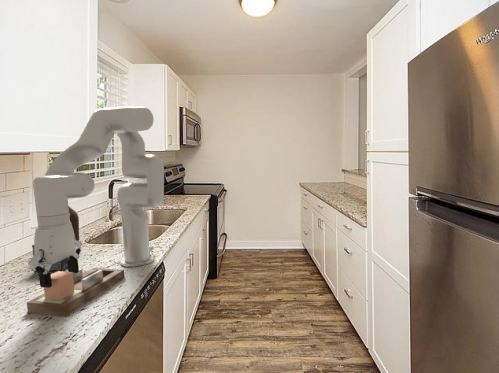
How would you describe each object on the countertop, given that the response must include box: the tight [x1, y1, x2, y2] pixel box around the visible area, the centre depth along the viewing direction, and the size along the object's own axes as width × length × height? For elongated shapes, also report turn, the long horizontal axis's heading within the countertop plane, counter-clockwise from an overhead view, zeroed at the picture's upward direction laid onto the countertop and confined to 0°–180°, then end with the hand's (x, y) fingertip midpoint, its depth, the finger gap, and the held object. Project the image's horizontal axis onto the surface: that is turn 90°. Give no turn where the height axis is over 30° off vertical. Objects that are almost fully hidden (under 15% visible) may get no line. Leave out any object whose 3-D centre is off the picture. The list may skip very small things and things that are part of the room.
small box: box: [31, 244, 69, 274], centre depth 117 cm, size 11×6×10 cm, turn 92°
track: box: [26, 267, 125, 317], centre depth 95 cm, size 26×12×6 cm, turn 168°
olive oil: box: [68, 205, 80, 241], centre depth 136 cm, size 11×11×25 cm
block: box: [43, 271, 74, 300], centre depth 87 cm, size 5×5×6 cm
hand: (60, 279), depth 87 cm, fingers open, 9 cm apart
